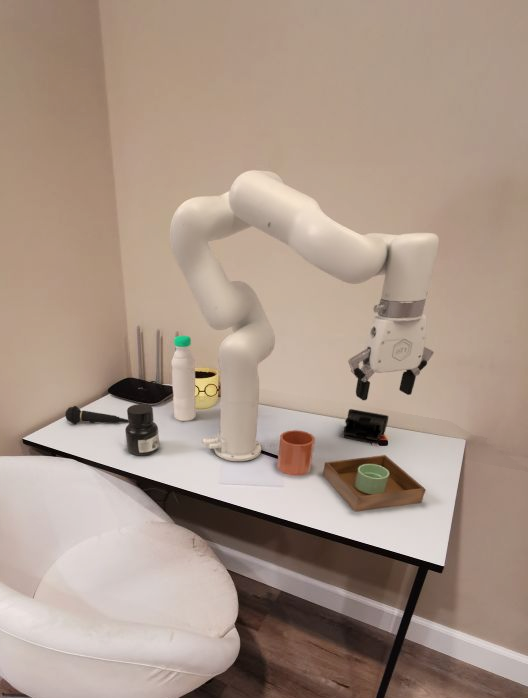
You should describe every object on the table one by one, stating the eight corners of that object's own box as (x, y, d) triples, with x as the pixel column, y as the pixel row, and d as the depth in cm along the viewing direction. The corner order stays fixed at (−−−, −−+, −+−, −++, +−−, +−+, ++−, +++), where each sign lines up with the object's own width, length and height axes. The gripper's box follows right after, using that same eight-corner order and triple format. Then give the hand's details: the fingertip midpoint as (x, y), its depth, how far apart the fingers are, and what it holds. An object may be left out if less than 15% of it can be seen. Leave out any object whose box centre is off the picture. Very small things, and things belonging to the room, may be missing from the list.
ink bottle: (146, 460, 115) (142, 418, 108) (120, 452, 119) (115, 412, 112) (166, 444, 122) (163, 405, 115) (140, 438, 126) (137, 399, 119)
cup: (284, 478, 104) (287, 447, 99) (272, 462, 111) (275, 432, 106) (315, 474, 105) (320, 443, 100) (302, 458, 111) (306, 428, 107)
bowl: (363, 497, 95) (367, 480, 93) (349, 482, 101) (352, 465, 98) (390, 493, 96) (395, 476, 94) (374, 478, 101) (379, 462, 99)
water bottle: (172, 413, 140) (169, 334, 126) (194, 411, 140) (193, 332, 126) (174, 422, 134) (171, 340, 120) (197, 420, 134) (196, 339, 120)
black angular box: (384, 434, 120) (390, 412, 117) (379, 445, 115) (384, 422, 112) (347, 427, 125) (351, 405, 121) (340, 437, 120) (344, 414, 117)
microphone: (129, 428, 138) (67, 422, 139) (130, 410, 137) (68, 404, 137) (126, 431, 133) (62, 424, 134) (128, 412, 132) (63, 405, 132)
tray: (354, 512, 91) (358, 498, 89) (322, 475, 104) (325, 462, 102) (421, 503, 93) (426, 489, 91) (381, 468, 106) (385, 454, 104)
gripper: (368, 317, 77) (353, 407, 86) (457, 307, 78) (433, 396, 87) (347, 309, 83) (335, 394, 92) (430, 301, 85) (410, 384, 94)
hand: (383, 395), depth 90 cm, fingers open, 9 cm apart
